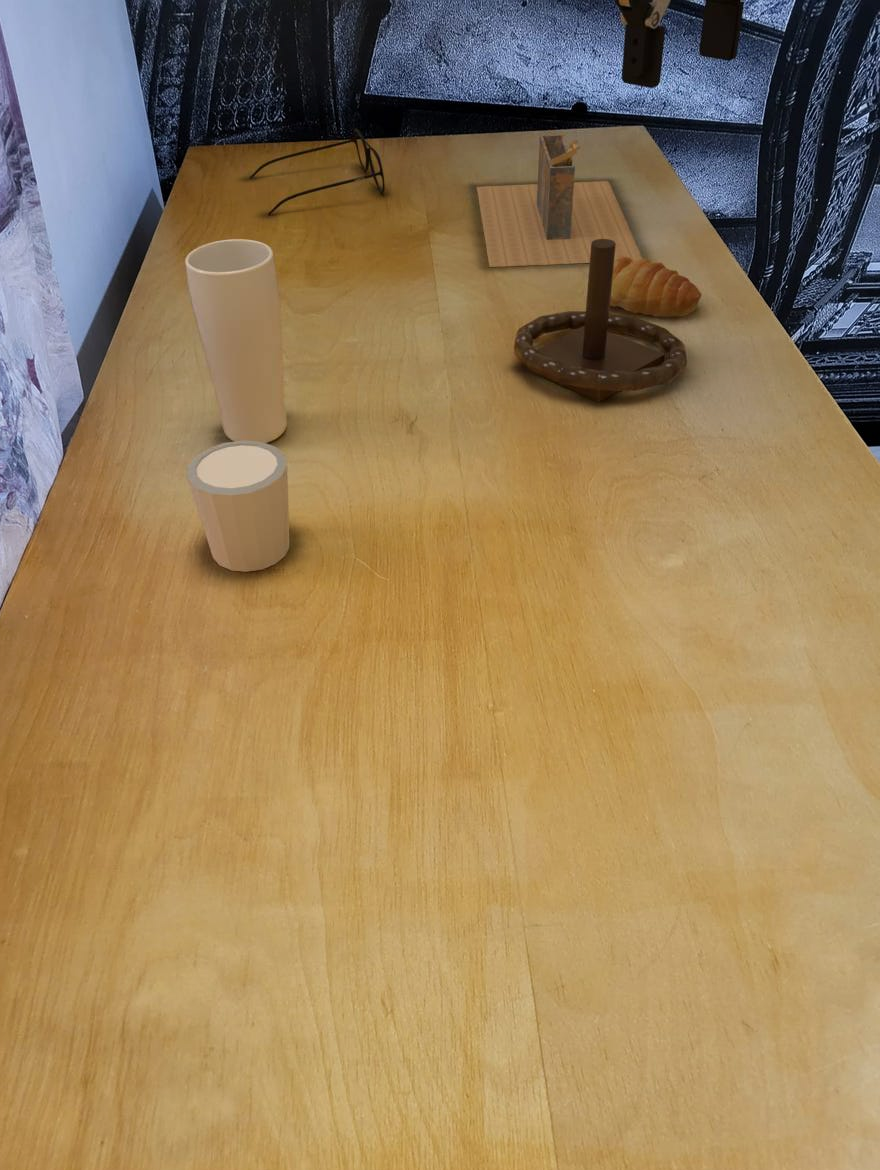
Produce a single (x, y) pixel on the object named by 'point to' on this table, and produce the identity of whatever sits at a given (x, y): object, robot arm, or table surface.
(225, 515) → the beige short cylinder
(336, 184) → the glasses
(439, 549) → the table surface
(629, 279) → the pastry
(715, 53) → the robot arm
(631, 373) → the ring
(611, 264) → the post
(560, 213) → the architectural model on board
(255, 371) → the drinking glass
